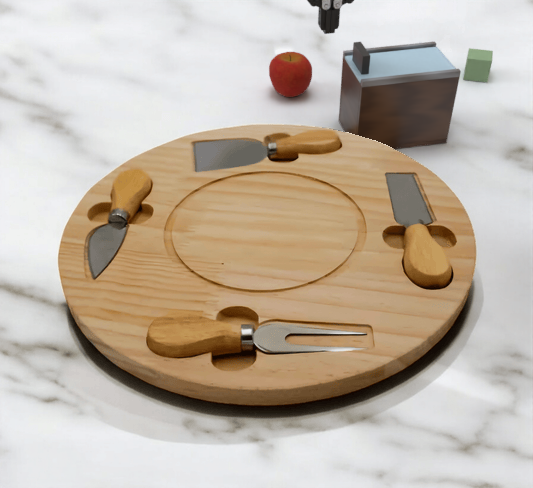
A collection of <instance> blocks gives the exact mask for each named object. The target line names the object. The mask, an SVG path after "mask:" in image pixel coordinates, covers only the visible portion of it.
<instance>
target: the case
mask: <svg viewBox="0 0 533 488" xmlns="http://www.w3.org/2000/svg"><path fill="white" fill-rule="evenodd" d="M429 47H437V43H436V41H427V42H417V43H407V44H398V45H397V44H396V45H388V46H387V45H386V46H378V47H365V48H366V50H367V51H368V53H369V54H370V53H380V52H390V51H399V50H409V49H419V48H429ZM350 55H353V49H347V50H346V49H345V50H343V51H342V62H341V63H342V65H341V79H340V95H339V109H338V122H339V124H340V126H341V128H342V130H343V132H344V131H345V132H349V133H352V134H355V135H359V136H362V137H365V138H369V139H372V140H376V141H378V142H381V143H383V144H386V145H388V146H390V147H392V148H394V149H393V150H399V149H400V150H401V149H407V148H408V149H409V148H416V147H424V146H432V145H440V144H447V142H448V136H449V133H450V127H451V122H452V117H453V112H454V107H455V102H456V97H457V91H458V87H459V86H458V85H459V82H460V78H461V71H462V70H461V69H460V68H456V69H451V70H441V71H432V72H423V73H413V74H404V75H395V76H385V77H376V78H367V79H361V83H360V82H359V81H358V79H357V78H356V76H355V74H354V73H353V71H352V70H351V68H350V66H349V65H348V63H347V61H346V60H345V56H350ZM345 132H344V133H345Z"/></svg>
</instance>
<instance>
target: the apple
mask: <svg viewBox="0 0 533 488" xmlns="http://www.w3.org/2000/svg"><path fill="white" fill-rule="evenodd" d="M268 75H269V79H270V82H271V85H272V88H273V89H274V90H275V92H276V93H277V94H280V95H281V96H283V97H284V98H285V97H286V98H294V97H298V96H300V95H303V94H305V92H306V91H307V90H308V88H309V87H310V84H311V83H312V79H313V66H312V63H311V62H310V60H309V59H308V57H306V56H305V55H304V54H302V53H301V52H295V51H285V52H281V53H278V54H276V55H275V56H274V57H273V58H272V59H271V60H270V63H269V66H268Z"/></svg>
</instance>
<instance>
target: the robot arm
mask: <svg viewBox="0 0 533 488" xmlns="http://www.w3.org/2000/svg"><path fill="white" fill-rule="evenodd" d="M306 1H307V2H308V4H309V5H310V6H311V7H313V8H314V7H317V8H318V12H317V14H318V15H317V16H318V17H317V24H318V27H319V29H320V30H321V31H322V33H323V34H324V35H328V34H335V33H336V30H338V29H339V27H340V16H341V8H342V7H343V6H344V5H346V4H348V5H349V4H353V3H354V1H355V0H306Z"/></svg>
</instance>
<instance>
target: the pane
mask: <svg viewBox="0 0 533 488" xmlns="http://www.w3.org/2000/svg"><path fill="white" fill-rule="evenodd" d="M352 44H353V45H352V46H353V47H352V50H353V55H350V56H345V60H346V61H347V63H348V65H349V66H350V68H351V70H352V71H353V73H354V74H355V76H356V78H357V79H358V81H359V82H360V83H361V79H367V78H376V77H385V76H395V75H404V74H413V73H423V72H432V71H441V70H451V69H457V68H456V66H454V64H453V63H452V62H451V61H450V60H449V58H448V57H447V56H446V55H445V53H443V52H442V51H441V49H440V48H439V47H438V46H436V47H429V48H419V49H409V50H399V51H390V52H380V53H370V54H369V53H368V51H367V50H366V48H367V47H365V45H364V44H363V43H362V41H354V42H353V43H352Z"/></svg>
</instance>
